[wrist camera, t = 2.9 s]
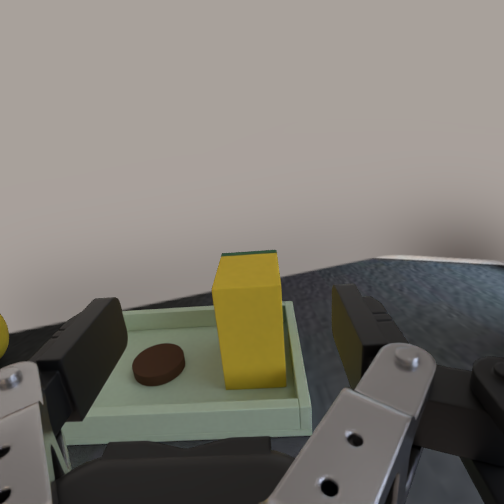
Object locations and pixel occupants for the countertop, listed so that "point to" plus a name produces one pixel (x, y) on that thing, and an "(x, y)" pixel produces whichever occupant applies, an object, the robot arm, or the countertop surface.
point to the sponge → (250, 320)
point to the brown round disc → (158, 364)
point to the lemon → (3, 336)
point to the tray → (193, 388)
